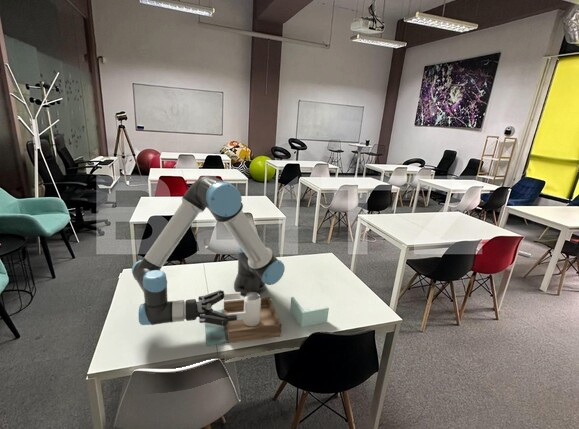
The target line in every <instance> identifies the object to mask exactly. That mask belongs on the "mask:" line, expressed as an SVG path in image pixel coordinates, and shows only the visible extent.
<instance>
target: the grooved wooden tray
mask: <svg viewBox="0 0 579 429" xmlns="http://www.w3.org/2000/svg"><path fill="white" fill-rule="evenodd" d="M260 298H261V307H260V322H259V324H258V325H256V326H253V327H250V326H247V325H245V324H244V319H241V320H236V321H228V324H226V326H221V325H216V324H210V323H204V329H205V330H204V332H205V345H206V346H205V347H208V346H217V345H223V344H224V345H225V344H231V343H233V344H234V343H240V342H247V341H256V340H262V339H263V340H265V339H271V338H278V337H279V338H280V337H281V335H282V324H281V321H280V318H279V315H278V314H277V311H276V308H275V306H274V304H273V301H272V298H271V297H269V296H268V297H260ZM213 310H214V309H213ZM214 311H217V312H220V313H222V314H225V315H228V313H236V312H244V299H233V300H224V301H223V308H222V309H216V310H214Z"/></svg>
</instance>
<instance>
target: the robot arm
mask: <svg viewBox="0 0 579 429" xmlns="http://www.w3.org/2000/svg"><path fill="white" fill-rule="evenodd" d="M242 199H243V198H242V194H241V192H240V190H239V189H238V188H237V187H236V186H235V185H233V184H232V183H229V182H228V181H224V180H221V179H219V178H217V177H215V176H210V175H206V176H205V175H204V176H202V177H199V178H198V179H197V180H196V181H194V182H193V183H192V184H191V185H190V187H189V188H188V189H187V190H186V192H185V193H184V195H183V196H182V197H181V201H182V202H181V204H180V205H179V206H178V208H177V209H176V211H175V212H174V214H173V215H172V217H171V218H170V219H169V221H168V223H167V224H166V225H165V226H164V228H163V229H162V231H161V232H160V234H159V235H158V237H157V238H156V240H155V241H154V243H153V244H152V246H151V247H150V248H149V250H148V251H147V253H146V254H145V256H144V257H143V259H139V260H137V261H136V262H135V263H133V265H132V267H131V274H132V277H133V279H134V280H135V281H136V283H137V284H138V285H139V287H140V289H141V290H142V292H143V297H144V303H141V304H139V307H138V322H139V324H140V325H141V326H149V325H150V326H154V325H160V324H169V323H179V322H185V321H187V322H190V321H196V320H197V318H198V322H199V323H200V324H205V323H210V324H216V325H221V326H226V324H228V321H236V320H241V319H246V311H245V312H236V313H228V315H225V314H222V313H220V312H217V311H214V309H213V308H212V307H213V305H216V304H217V303H219V302H220V301H222V300H224V301H234V300H241V295H243V296H246V294H247V293H249V292H256V293H258V294H259V295H260V294H262V293H263V292H264V290H266V289H265V288H266V285H267V286H272V285H275V284H277V283H278V282H280V281H281V279H282V277H283V276H284V273H285V269H286V268H285V267H286V266H285V264H284V262H282V260H280V259H278V258H277V257H276V256H275V254H274V252H273V250H272V249H271V248H270V247H266V246H265V244H264V242H263V241H262V240H261V238H260V237H259V235H258V233H257V232H256V231H255V229H254V227H253V225H252V223H251V222H250V221H249V219H248V217H247V216H246V214H245V213H244V211H243V209H244V204H243V202H242ZM206 209H207V210H209V212H210V214H211V215H212V217H214V219H215V221H217V222H218V223H223V225H224V226H225V228H226V229H227V230H228V232H229V233H230V235H231V236H232V238H233V239H234V240H235V241H236V243H237V245H238V249H237V250H238V251H237V254H238V257H237V258H238V259H237V260H238V262H237V264H238V265H237V274H236V277H235V279H234V282H233V289H234V291H235V292H224V290H220V289H219V290H217V291H214V292H211V293H208V294H205V295H201V296H198V299H197V300H198V301H197V300H196V299H195V298H191V299H185V300H184V299H181V300H170V301H168V280H167V279H168V278H167V274H166V272H164V271H163V270H161V269H162V268H163V267H164V265H165V264H166V262H167V260H168V259H169V257H170V256H171V255H172V253H173V252H174V251H175V249H176V247H177V246H178V245H179V244H180V241H181V240H182V239H183V237H184V236H185V234H186V233H187V231H188V230H189V228H190V227H191V226H192V224H193V223H194V221H195V220H196V218H197V217H198V215H199V214H200V213H204V212H205V210H206Z"/></svg>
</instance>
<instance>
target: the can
mask: <svg viewBox="0 0 579 429" xmlns="http://www.w3.org/2000/svg"><path fill="white" fill-rule="evenodd" d="M261 298H262V297H261V294H260V293H259V294H258V293H256V292H249V293H247V294H246V295H245V296H244V299H243V300H244V312H245V311H246V319H244V324H245V325H247V326H250V327H253V326H256V325H258V324H259V322H260V307H261Z"/></svg>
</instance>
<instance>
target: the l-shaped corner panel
mask: <svg viewBox="0 0 579 429" xmlns="http://www.w3.org/2000/svg"><path fill="white" fill-rule="evenodd" d="M329 310H330V307H329V306H323V307H319V308H313V309H306V310H304V309H303V307H302V306H301V305H300V303H299V302H298V301H297V299H296V298H295V297H294V296H291V297H290V305H289V312H290V311H291V312H290V313H291V315H292V314H293V315H292V316H293V317H294V319H295V321H296V322H297V323H298V325H299V324H300V325H299V326H300V327H301V328H306V327H310V325H311V326H314V324H316V325H319V324H318V323H320V324H323V323H322V322H325V323H327V322H328V317H329ZM326 321H327V322H326Z"/></svg>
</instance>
